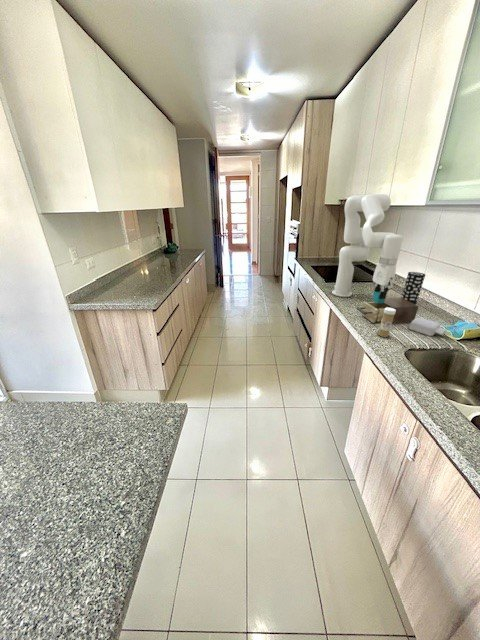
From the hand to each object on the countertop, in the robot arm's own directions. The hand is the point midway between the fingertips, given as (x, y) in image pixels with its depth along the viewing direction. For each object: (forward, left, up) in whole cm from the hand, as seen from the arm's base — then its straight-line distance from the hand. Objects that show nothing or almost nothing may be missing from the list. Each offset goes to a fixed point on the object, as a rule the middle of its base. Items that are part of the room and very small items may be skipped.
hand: (379, 296), depth 133 cm
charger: (+18, +18, -13) cm, 28 cm away
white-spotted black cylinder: (-14, +32, -13) cm, 37 cm away
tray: (0, 0, -12) cm, 12 cm away
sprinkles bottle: (+17, -6, -13) cm, 22 cm away
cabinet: (0, +12, -13) cm, 17 cm away
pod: (0, 0, -3) cm, 3 cm away
